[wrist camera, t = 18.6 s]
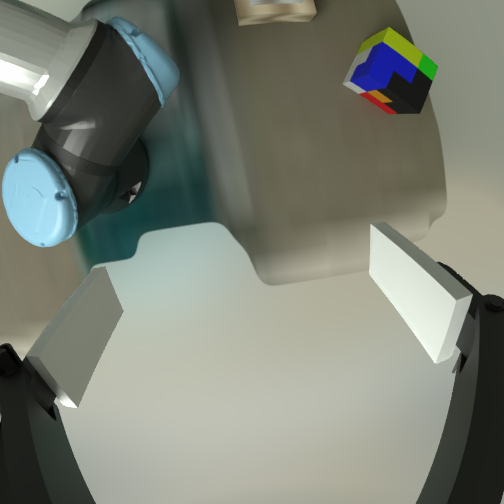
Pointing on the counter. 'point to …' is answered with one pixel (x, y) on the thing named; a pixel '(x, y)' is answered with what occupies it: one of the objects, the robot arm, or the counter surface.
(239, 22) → the pedestal
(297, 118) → the counter surface
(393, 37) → the puzzle toy
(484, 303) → the robot arm
